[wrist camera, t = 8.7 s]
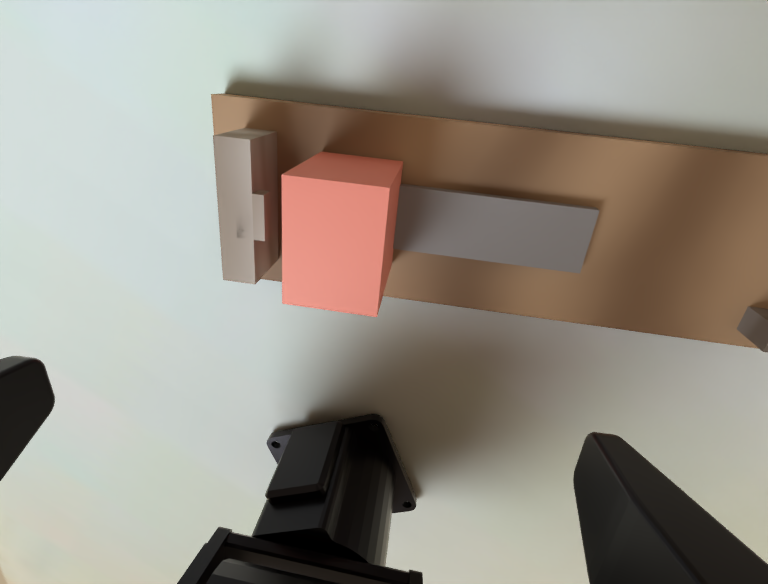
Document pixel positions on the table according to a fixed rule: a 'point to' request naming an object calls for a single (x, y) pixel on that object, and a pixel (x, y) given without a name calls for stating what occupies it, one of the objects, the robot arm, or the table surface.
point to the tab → (406, 230)
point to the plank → (536, 182)
